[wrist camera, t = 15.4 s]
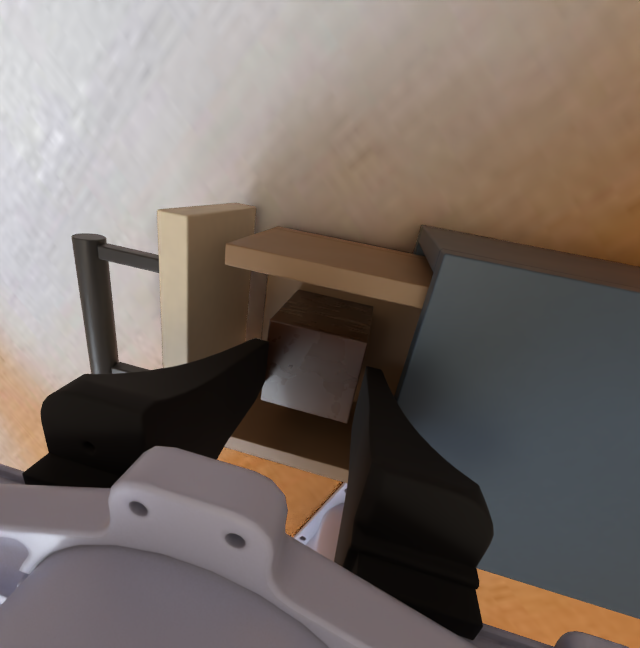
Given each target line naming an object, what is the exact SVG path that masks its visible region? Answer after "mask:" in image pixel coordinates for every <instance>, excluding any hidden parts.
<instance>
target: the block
mask: <svg viewBox="0 0 640 648" xmlns="http://www.w3.org/2000/svg"><path fill="white" fill-rule="evenodd" d="M373 308H374V307H373V306H369V305H365V304H361V303H356V302H352V301H347V300H343V299H339V298H334V297H330V296H325V295H321V294H317V293H312V292H308V291H303V290H297V291H296V292H295V293H294V294H293V295H292V296H291V298H290V299H289V300H288V301H287V302H286V303H285V304H284V305H283V306H282V307H281V308H280V309H279V310H278V311H277V312H276V313H275V314H274V316H273V317H272V318H271V319H270V320H269V328H268V337H267V341H269V349H268V358H267V366H266V375H265V383H264V385H263V387H262V390H261V400H262V401H266V402H270V403H273V404H277V405H281V406H284V407H288V408H292V409H295V410H299V411H303V412H306V413H310V414H314V415H317V416H321V417H325V418H328V419H332V420H336V421H339V422H343V423H348V420H349V416H350V412H351V408H352V404H353V400H354V396H355V392H356V389H357V385H358V381H359V377H360V373H361V369H362V365H363V361H364V357H365V354H366V350H367V346H368V340H369V334H370V328H371V321H372V315H373Z"/></svg>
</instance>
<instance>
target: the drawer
mask: <svg viewBox="0 0 640 648" xmlns="http://www.w3.org/2000/svg"><path fill="white" fill-rule="evenodd" d="M255 216H256V207H255V206H250V205H245V204H240V203H227V204H216V205H204V206H192V207H181V208H169V209H159V210H157V225H158V251H159V255H156V254H152V253H147V252H143V251H138V250H134V249H129V248H125V247H121V246H116V245H112V244H107V243H106V237H104V236H102V235H98V234H75V235H72V243H73V250H74V257H75V264H76V271H77V278H78V285H79V292H80V299H81V306H82V312H83V319H84V326H85V333H86V340H87V347H88V354H89V361H90V368H91V374H116V373H130V372H141V371H149V370H148V369H144V368H140V367H137V366H133V365H129V364H126V363H122V362H119V360H118V350H117V340H116V331H115V321H114V311H113V301H112V292H111V282H110V272H109V262H108V261H110V262H115V263H119V264H123V265H127V266H132V267H136V268H140V269H145V270H149V271H153V272H157V273H159V277H160V304H161V330H162V356H163V368H167V367H173V366H177V365H182V364H186V363H190V362H193V361H197V360H200V359H203V358H206V357H209V356H211V355H214V354H217V353H220V352H223V351H225V350H227V349H230V348H232V347H235V346H237V345H240V344H242V343H244V342H245V340H246V327H247V315H248V303H249V290H250V278H251V271H256V272H260V273H265V274H268V277H267V287H266V297H265V306H264V316H263V326H262V336H261V340H265V341H267V337H268V328H269V320H270V319H271V318H272V317H273V316H274V314H275V313H276V312H277V311H278V310H279V309H280V308H281V307H282V306H283V305H284V304H285V303H286V302H287V301H288V300H289V299H290V298H291V296H292V295H293V294H294V293H295V292H296V291H297V290H303V291H308V292H312V293H317V294H321V295H325V296H330V297H334V298H339V299H343V300H347V301H352V302H356V303H361V304H365V305H369V306H373V307H374V308H373V315H372V321H371V328H370V334H369V340H368V346H367V350H366V354H365V357H364V361H363V365H362V369H361V373H360V377H359V381H358V385H357V389H356V392H355V396H354V400H353V404H352V408H351V412H350V416H349V420H348V423H343V422H339V421H336V420H332V419H328V418H325V417H321V416H317V415H314V414H310V413H306V412H303V411H299V410H295V409H292V408H288V407H284V406H281V405H277V404H273V403H270V402H266V401H262V400H261V391H260V393H259V395H258V397H257V399H256V401H255V402H254V404H253V405H252V407H251V408H250V409H249V411H248V412H247V414H246V415H245V417H244V418H243V420H242V421H241V422H240V424H239V425H238V427H237V428H236V430H235V431H234V432H233V434H232V435H231V437H230V438H229V440H228V441H227V443H226V444H225V446H224V447H226V448H230V449H233V450H236V451H240V452H243V453H246V454H250V455H253V456H257V457H260V458H263V459H267V460H270V461H274V462H277V463H280V464H284V465H287V466H290V467H294V468H297V469H301V470H304V471H307V472H311V473H314V474H318V475H321V476H324V477H328V478H331V479H334V480H338V481H341V482H345V483H348V475H349V460H350V445H351V431H352V424H353V418H354V413H355V408H356V404H357V400H358V396H359V392H360V388H361V385H362V381H363V377H364V373H365V369H366V366H369V367H373V368H377V369H381V370H382V371H383V373H384V376H385V379H386V381H387V383H388V385H389V388H390V390H391V392H392V394H393V396H394V395H395V392H396V389H397V386H398V383H399V380H400V377H401V373H402V370H403V367H404V364H405V361H406V358H407V355H408V351H409V348H410V345H411V342H412V339H413V336H414V332H415V329H416V326H417V323H418V320H419V317H420V314H421V310H422V307H423V304H424V301H425V298H426V295H427V292H428V288H429V285H430V282H431V279H432V276H433V271H432V269H431V267H430V265H429V263H428V261H427V259H426V257H425V256H420V255H416V254H411V253H406V252H401V251H396V250H391V249H386V248H381V247H376V246H372V245H367V244H362V243H357V242H352V241H347V240H342V239H337V238H333V237H328V236H323V235H318V234H313V233H308V232H303V231H298V230H293V229H289V228H284V227H279V226H278V227H274V228H272V229H269V230H265V231H262V232H259V233H256V234H254V228H255ZM261 390H262V389H261Z"/></svg>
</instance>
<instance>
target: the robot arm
mask: <svg viewBox="0 0 640 648" xmlns="http://www.w3.org/2000/svg"><path fill="white" fill-rule="evenodd" d="M268 349H269V341H265V340H261V339H257V338H255V339H252V340H249V341H247V342H244V343H242V344H240V345H237V346H235V347H232V348H230V349H227V350H225V351H223V352H220V353H217V354H214V355H211V356H209V357H206V358H203V359H200V360H197V361H193V362H190V363H186V364H182V365H177V366H173V367H167V368H161V369H156V370H149V371H141V372H130V373H116V374H84V375H82V376H80V377H79V378H77V379H75V380H74V381H72V382H70V383H69V384H67V385H65V386H64V387H62V388H60V389H59V390H57V391H56V392H54V393H52V394H51V395H49V396H48V397H47V398H46V399H45V400H44V402H43V404H42V408H41V422H42V426H43V430H44V434H45V439H46V443H47V447H48V451H49V453H48V454H47V455H46V456H44V457H43V458H42V459H40V460H39V461H38V462H37V463H35V464H34V465H33V466H31V467H30V468H29V469H27V470H26V471H25V472H24V471H21V470H18V469H15V468H12V467H9V466H6V465H3V464H0V648H629V647H627V646H624V645H621V644H617V643H614V642H611V641H608V640H605V639H602V638H599V637H596V636H593V635H590V634H586V633H583V632H577V631H574V632H567V633H565V634H564V635H562V636H561V637H560V638H559V640H558V641H557V643H556V645H555V647H553V646H550V645H547V644H544V643H541V642H538V641H535V640H532V639H529V638H526V637H523V636H520V635H517V634H514V633H511V632H508V631H505V630H502V629H499V628H496V627H493V626H489V625H486V624H483V623H482V619H481V614H480V609H479V604H478V600H477V595H476V590H475V589H478V587H479V578H478V574H477V569H476V567H477V566H478V564H479V562H480V561H481V559H482V557H483V556H484V554H485V552H486V551H487V549H488V547H489V546H490V544H491V541H492V538H493V536H494V530H493V522H492V519H491V516H490V512H489V509H488V506H487V503H486V501H485V498H484V496H483V494H482V491H481V489H480V486H479V485H478V484H477V483H475V482H474V481H473V480H471V479H470V478H469V477H467V476H466V475H464V474H463V473H462V472H460V471H459V470H458V469H456V468H455V467H454V466H453V465H451V464H450V463H449V462H448V461H447V460H446V459H444V458H443V457H442V456H441V455H440V454H439V453H438V452H437V451H436V450H435V449H433V448H432V447H431V446H430V444H429V443H428V442H427V441H426V440H425V439H424V438H423V437H422V436H421V435H420V434H419V433H418V432H417V430H416V429H415V428H414V427H413V425H412V424H411V423H410V421H409V420H408V419H407V417H406V416H405V414H404V413H403V411H402V410H401V408H400V406H399V405H398V403H397V401H396V399H395V397H394V396H393V394H392V392H391V390H390V388H389V385H388V383H387V381H386V379H385V376H384V373H383V371H382V370H381V369H377V368H373V367H369V366H366V369H365V373H364V377H363V381H362V385H361V388H360V392H359V396H358V400H357V404H356V408H355V413H354V418H353V424H352V431H351V445H350V460H349V475H348V483H345V482H344V483H343V484H342V485H341V486H340V487H339V488H338V489H337V490H336V491H335V493H334V494H333V495H332V496H331V497H330V498H329V499H328V500H327V501H326V502H325V503H324V504H323V506H322V507H321V508H320V509H319V510H318V511H317V512H316V513H315V514H314V515H313V516H312V518H311V519H310V520H309V521H308V522H307V523H306V524H305V525H304V526H303V527H302V528H301V529H300V531H299V532H298V533H297V534H296V535H295V536H294V537H291V536H289V535H288V534H286V533H285V523H286V518H287V512H288V509H287V504H286V498H285V495H284V494H283V493H282V491H281V490H280V489H279V488H278V487H277V485H276V484H275V483H274V482H273V481H272V480H271V479H269V478H267V477H265V476H263V475H261V474H259V473H257V472H255V471H252V470H249V469H245V468H242V467H239V466H235V465H232V464H229V463H225V462H222V461H219V460H217V458H218V456H219V455H220V453H221V451H222V449H223V447H224V446H225V444H226V443H227V441H228V440H229V438H230V437H231V435H232V434H233V432H234V431H235V430H236V428H237V427H238V425H239V424H240V422H241V421H242V420H243V418H244V417H245V415H246V414H247V412H248V411H249V409H250V408H251V407H252V405H253V404H254V402H255V401H256V399H257V397H258V395H259V393H260V391H261V389H262V387H263V385H264V383H265V375H266V366H267V358H268Z"/></svg>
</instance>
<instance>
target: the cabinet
mask: <svg viewBox="0 0 640 648" xmlns="http://www.w3.org/2000/svg"><path fill="white" fill-rule="evenodd" d="M413 254H416V255H420V256H425V257H426V259H427V261H428V263H429V265H430V267H431V269H432V271H433V276H432V279H431V282H430V285H429V288H428V292H427V295H426V298H425V301H424V304H423V307H422V310H421V314H420V317H419V320H418V323H417V326H416V329H415V332H414V336H413V339H412V342H411V345H410V348H409V351H408V355H407V358H406V361H405V364H404V367H403V370H402V373H401V377H400V380H399V383H398V386H397V389H396V392H395V395H394V397H395V399H396V401H397V403H398V405H399V406H400V408H401V410H402V411H403V413H404V414H405V416H406V417H407V419H408V420H409V421H410V423H411V424H412V425H413V427H414V428H415V429H416V430H417V432H418V433H419V434H420V435H421V436H422V437H423V438H424V439H425V440H426V441H427V442H428V443H429V444H430V446H431V447H432V448H433V449H435V450H436V451H437V452H438V453H439V454H440V455H441V456H442V457H443V458H444V459H446V460H447V461H448V462H449V463H450V464H451V465H453V466H454V467H455V468H456V469H458V470H459V471H460V472H462V473H463V474H464V475H466V476H467V477H469V478H470V479H471V480H473V481H474V482H475V483H477V484H478V485H479V486H480V489H481V491H482V494H483V496H484V498H485V501H486V503H487V506H488V509H489V512H490V516H491V519H492V522H493V530H494V536H493V538H492V541H491V544H490V546H489V547H488V549H487V551H486V552H485V554H484V556H483V557H482V559H481V561H480V562H479V564H478V566H477V567H476V568H478V569H481V570H484V571H488V572H491V573H494V574H497V575H500V576H504V577H507V578H510V579H513V580H516V581H520V582H523V583H526V584H529V585H532V586H536V587H539V588H542V589H545V590H548V591H552V592H555V593H558V594H561V595H565V596H568V597H571V598H574V599H577V600H581V601H584V602H587V603H590V604H593V605H597V606H600V607H603V608H606V609H609V610H613V611H616V612H619V613H622V614H625V615H629V616H632V617H635V618H638V619H640V267H637V266H632V265H627V264H622V263H617V262H612V261H606V260H601V259H596V258H591V257H586V256H581V255H575V254H570V253H565V252H560V251H555V250H550V249H544V248H539V247H534V246H529V245H524V244H519V243H513V242H508V241H503V240H498V239H493V238H488V237H482V236H477V235H472V234H467V233H462V232H457V231H451V230H446V229H441V228H436V227H431V226H426V225H421V228H420V231H419V235H418V238H417V242H416V245H415V249H414V252H413Z"/></svg>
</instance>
